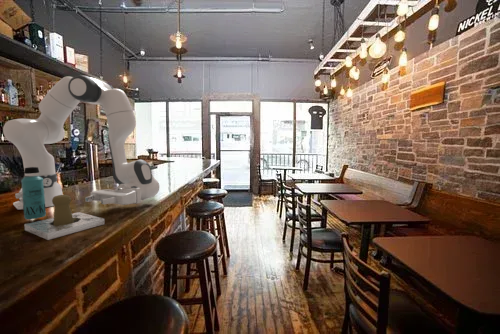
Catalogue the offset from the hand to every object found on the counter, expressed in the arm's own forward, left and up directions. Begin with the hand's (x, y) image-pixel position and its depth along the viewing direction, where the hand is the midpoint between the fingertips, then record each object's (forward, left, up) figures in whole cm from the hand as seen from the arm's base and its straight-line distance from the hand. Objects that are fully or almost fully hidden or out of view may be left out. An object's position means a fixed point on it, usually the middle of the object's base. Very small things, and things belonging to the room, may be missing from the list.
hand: (94, 200), depth 98 cm
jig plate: (+1, -10, -7) cm, 12 cm away
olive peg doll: (0, -10, -7) cm, 13 cm away
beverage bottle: (-17, -12, -7) cm, 22 cm away
